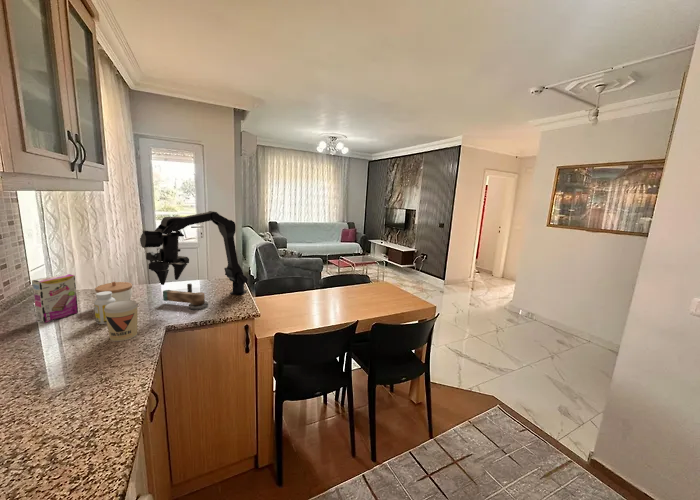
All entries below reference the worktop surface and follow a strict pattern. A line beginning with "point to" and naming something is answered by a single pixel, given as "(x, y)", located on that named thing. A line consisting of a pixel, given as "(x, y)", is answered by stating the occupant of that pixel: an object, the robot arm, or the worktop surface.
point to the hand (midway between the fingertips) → (169, 282)
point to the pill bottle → (102, 305)
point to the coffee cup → (121, 319)
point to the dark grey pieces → (194, 307)
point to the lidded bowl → (117, 290)
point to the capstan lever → (184, 297)
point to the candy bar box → (55, 297)
